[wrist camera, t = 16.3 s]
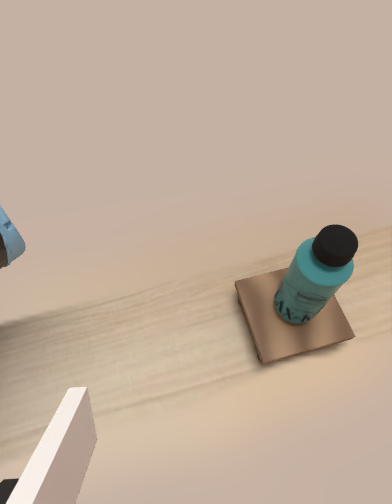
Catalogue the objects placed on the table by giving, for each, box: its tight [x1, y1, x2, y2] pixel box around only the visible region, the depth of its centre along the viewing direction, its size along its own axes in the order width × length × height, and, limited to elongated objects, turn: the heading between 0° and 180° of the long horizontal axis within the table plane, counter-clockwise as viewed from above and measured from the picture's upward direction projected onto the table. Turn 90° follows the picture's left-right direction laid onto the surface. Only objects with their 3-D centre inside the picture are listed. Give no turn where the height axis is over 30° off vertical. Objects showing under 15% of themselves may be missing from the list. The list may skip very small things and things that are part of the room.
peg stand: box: [235, 268, 355, 364], centre depth 51 cm, size 14×13×6 cm
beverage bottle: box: [273, 225, 358, 324], centre depth 40 cm, size 6×7×20 cm
